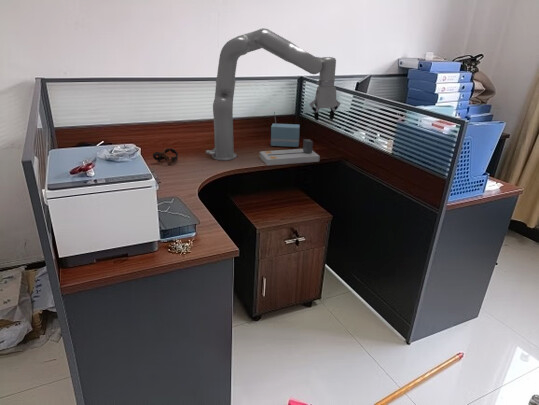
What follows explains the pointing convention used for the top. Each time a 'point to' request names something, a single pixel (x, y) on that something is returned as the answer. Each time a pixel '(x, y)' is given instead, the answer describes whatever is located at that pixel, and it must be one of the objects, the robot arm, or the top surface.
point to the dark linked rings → (166, 156)
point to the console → (288, 157)
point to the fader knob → (307, 145)
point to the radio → (285, 135)
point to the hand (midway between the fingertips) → (323, 119)
